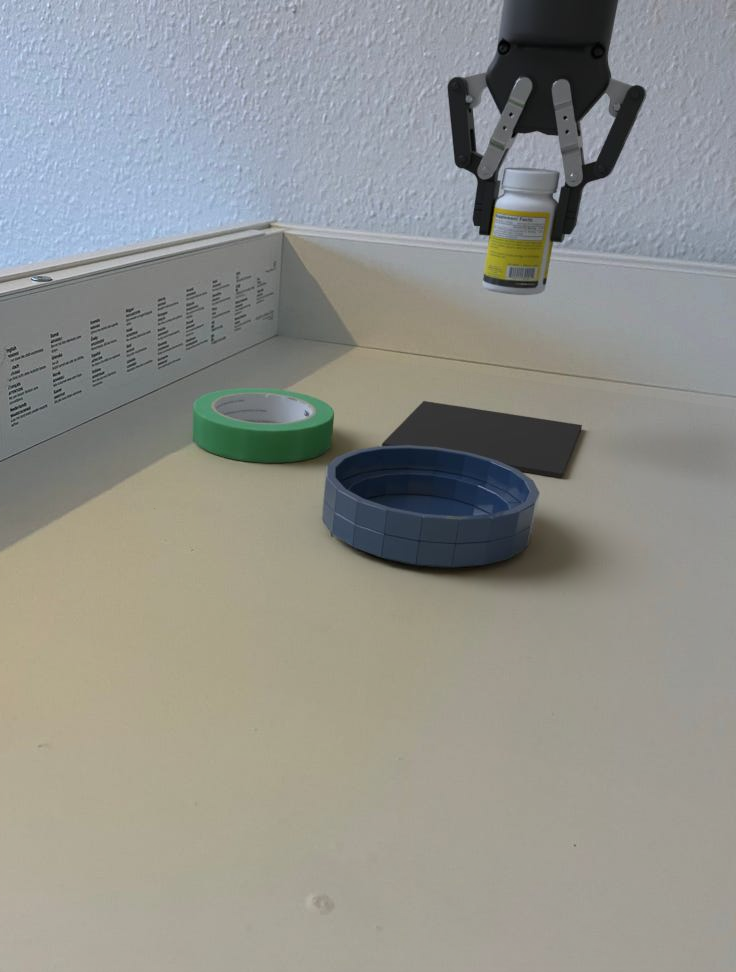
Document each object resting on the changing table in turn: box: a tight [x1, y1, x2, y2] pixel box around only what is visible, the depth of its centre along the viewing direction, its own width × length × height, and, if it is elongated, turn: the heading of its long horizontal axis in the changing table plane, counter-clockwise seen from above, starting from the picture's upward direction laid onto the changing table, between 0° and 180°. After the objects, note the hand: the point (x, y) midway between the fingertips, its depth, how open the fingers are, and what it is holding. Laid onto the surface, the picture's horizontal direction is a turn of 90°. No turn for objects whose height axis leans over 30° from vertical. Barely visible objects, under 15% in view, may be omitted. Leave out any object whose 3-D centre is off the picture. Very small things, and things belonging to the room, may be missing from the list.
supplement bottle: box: [482, 167, 561, 296], centre depth 74 cm, size 5×5×8 cm
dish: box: [321, 445, 540, 569], centre depth 63 cm, size 13×13×4 cm
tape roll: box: [192, 387, 335, 464], centre depth 78 cm, size 11×11×3 cm
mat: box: [381, 400, 583, 479], centre depth 82 cm, size 14×14×1 cm
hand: (520, 236), depth 74 cm, fingers closed on supplement bottle, 4 cm apart
